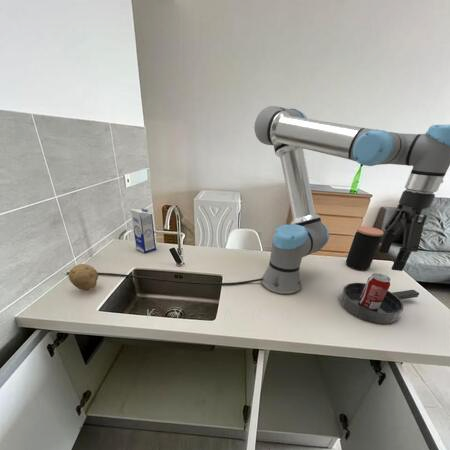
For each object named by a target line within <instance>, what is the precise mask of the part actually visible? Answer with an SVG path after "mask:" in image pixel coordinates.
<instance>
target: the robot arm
mask: <svg viewBox="0 0 450 450" xmlns="http://www.w3.org/2000/svg"><path fill="white" fill-rule="evenodd" d="M253 127H254V128H253V129H254V134H255V137H256V139H257V140H258V141H259V142H260V143H261V144H264V145H266V146H273V150H274V154H275V156H276V157H278V158H280V163H281V167H282V173H283V177H284V182H285V187H286V192H287V196H288V201H289V206H290V211H291V216H292V221H291V222H290V224H287V223H286V224H283V225H280V226H278V227H277V228H276V229H275V230H274V234H273V237H272V245H271V252H270V256H269V257H270V258H269V263H268V266H267V268H266V269H265V271H264V273H263V275H262V277H261V278H255V279H250V280H244V281H234V282H207V281H206V282H205V281H203V282H202V281H187V280H178V279H168V278H158V277H151V276H142V275H134V274H125V273H112V272H97V273H98V276H100V275H101V276H114V277H115V276H116V277H125V278H126V277H127V278H135V279H144V280H150V281H151V280H153V281H160V282H168V283H169V282H170V283H177V284H179V283H180V284H191V285H209V286H210V285H211V286H232V285H233V286H234V285H242V284H250V283H254V282H261V284H262V286H263V287H264V288H265V289H266V290H268V291H270V292H272V293H275V294H279V295H292V294H295V293H297V292H299V290H300V288H301V283H302V282H301V273H300V268H301V265H302V260H303V258H304V257H307V256H310V255H312V254H315V253H317V252H319V251H321V250H322V249H323V248H324V247H326V245H327V244H328V242H329V239H330V232H329V229H328V227H327V226H326V224H324V223H323V222H322V219H321V216H320V215H318V214H317V213H316V210H315V205H314V201H313V194H312V188H311V185H310V184H311V182H310V179H309V178H310V177H309V174H308V168H307V162H306V158H305V151H304V150H308V151H312V152H317V153H319V154H325V155H328V156H332V157H333V156H334V157H337V158H342V159H345V160H350V161H352V162H356V163H357V164H359V165H362V166H367V167H373V166H374V167H375V166H379V165H380V166H381V165H398V166H408V167H410V166H411V167H412V169H411V170H410V172H409V175H408V178H407V180H406V182H405V185H404V189H405V190H403V191H402V193H401V196H400V199H399V201H398V204H397V206H396V209H395V211H394V212H393V214H392V215H391V217H390V218H389V220H388V221H387V222H386V224H385V226H384V230H385V234H384V235H383V239H382V240H381V243H380V245H379V248H378V250H377V251H378V253H382V254H389V251H390V249H391V246H392V244H393V241H394V240H395V237H396V235H397V233H398V230H399V229H400V228H401V227H402V229H403V238H402V247H400V248H399V251H398V253H397V255H396V257H395V259H394V262H393V264H392V266H391V271H397V272H403V271H404V268H405V266H406V264H407V262H408V260H409V258H410V256H411V254H412V252H413V253H417V252H418V251H419V248H420V243H421V239H422V235H423V230H424V225H425V222H426V220H427V216H428V215H427V214H422V212H423V210H424V209H426V210H427V209H429V208H431V206H432V204H433V202H434V199H435V198H436V194H435V193H437V192H438V191H439V188H440V186H441V184H443V183H444V178H445V176H446V174H447V172H448V170H449V168H450V124H432V125H430V126H429V127H428V129H427V131H426V132H425V133H419V134H418V133H399V132H394V131H393V132H392V131H386V130H384V129H383V130H382V129H374V128H367V127H361V126H355V125H348V124H343V123H337V122H329V121H324V120H318V119H313V118H308V117H307V116H306V114H305V113H304V112H302V111H301V110H299V109H296V108H287V107H282V106H277V105H269V106H266V107H264V108H263V109H262V110H261V111H259V113H258V114H257V116H256V118H255V121H254V126H253ZM69 272H70V271H67V272H66V275H69Z"/></svg>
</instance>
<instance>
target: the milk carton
mask: <svg viewBox="0 0 450 450" xmlns="http://www.w3.org/2000/svg"><path fill="white" fill-rule="evenodd" d="M130 215H131V221H132V228H133V234H134V242H135V248H136V250H137V251H139V252H141V253H143V254H147V253H150V252H153V251H156V250H157V246H156V236H155V227H154V216H153V213H151V212H149V209H147V208H141V209H136V208H130Z"/></svg>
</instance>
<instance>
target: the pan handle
mask: <svg viewBox="0 0 450 450" xmlns="http://www.w3.org/2000/svg"><path fill="white" fill-rule="evenodd" d="M392 293H393V294H394V295H396V296H397V297H398V298H399V299H400V300H401V301H403V300H407V299H408V300H409V299H413V298H415V299H416V298H418V297H419V295H420V292H419V291H416V290H415V289H407V290H400V291H393V292H392ZM387 297H389V298H390V299H391V300H393V299H394V296H392V295H391V294H389V295H388V296H387ZM391 297H393V298H391Z"/></svg>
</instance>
